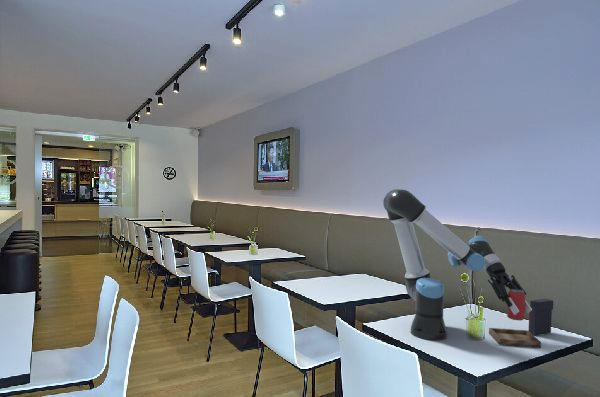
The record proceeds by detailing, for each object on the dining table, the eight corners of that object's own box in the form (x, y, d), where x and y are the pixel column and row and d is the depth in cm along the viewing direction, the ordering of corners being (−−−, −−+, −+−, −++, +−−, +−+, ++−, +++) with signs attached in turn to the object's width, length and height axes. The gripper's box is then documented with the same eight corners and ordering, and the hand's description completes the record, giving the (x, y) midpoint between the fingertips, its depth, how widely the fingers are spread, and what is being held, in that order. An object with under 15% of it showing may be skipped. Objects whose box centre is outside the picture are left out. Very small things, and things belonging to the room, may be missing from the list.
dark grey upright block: (543, 330, 190) (544, 297, 190) (552, 333, 186) (553, 300, 186) (527, 333, 185) (528, 300, 185) (536, 336, 182) (537, 302, 181)
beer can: (527, 321, 173) (528, 292, 172) (511, 320, 173) (512, 292, 173) (519, 316, 179) (520, 288, 179) (504, 315, 179) (505, 288, 179)
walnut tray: (499, 344, 171) (499, 338, 170) (488, 333, 184) (489, 327, 184) (540, 348, 168) (541, 342, 168) (527, 336, 182) (527, 330, 182)
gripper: (504, 269, 194) (534, 314, 179) (471, 272, 186) (500, 319, 172) (514, 260, 188) (546, 305, 174) (481, 262, 181) (511, 309, 167)
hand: (523, 312), depth 173 cm, fingers closed on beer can, 6 cm apart
